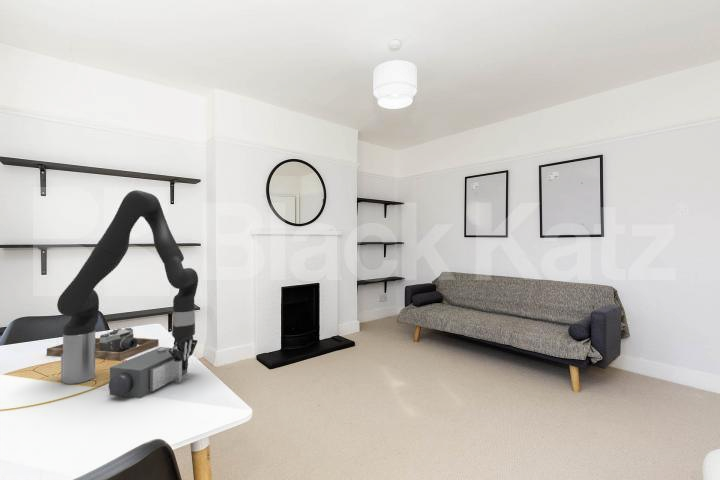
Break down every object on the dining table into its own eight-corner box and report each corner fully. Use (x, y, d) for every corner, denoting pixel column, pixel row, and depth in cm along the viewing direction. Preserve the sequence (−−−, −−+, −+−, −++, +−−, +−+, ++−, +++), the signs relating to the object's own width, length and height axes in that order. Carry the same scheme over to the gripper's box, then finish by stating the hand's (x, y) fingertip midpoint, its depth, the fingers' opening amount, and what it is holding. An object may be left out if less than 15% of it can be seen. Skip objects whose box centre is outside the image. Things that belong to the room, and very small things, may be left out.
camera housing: (101, 398, 112) (101, 368, 112) (160, 369, 137) (160, 345, 137) (133, 402, 110) (133, 371, 110) (187, 372, 134) (187, 347, 134)
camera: (116, 358, 150) (116, 335, 150) (96, 356, 152) (96, 333, 152) (145, 347, 165) (145, 326, 165) (127, 345, 167) (127, 325, 167)
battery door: (149, 390, 116) (149, 369, 116) (171, 378, 126) (171, 359, 126) (160, 391, 115) (160, 370, 115) (181, 379, 125) (181, 360, 125)
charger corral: (46, 355, 153) (46, 348, 153) (86, 343, 170) (86, 337, 170) (74, 357, 150) (74, 350, 150) (111, 345, 167) (111, 339, 167)
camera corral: (91, 357, 150) (91, 350, 150) (132, 343, 170) (132, 337, 170) (120, 360, 147) (120, 353, 147) (158, 345, 167) (158, 339, 167)
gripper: (187, 318, 135) (186, 362, 135) (161, 326, 122) (161, 375, 122) (204, 319, 134) (204, 364, 134) (180, 327, 121) (180, 377, 121)
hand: (183, 369), depth 128 cm, fingers closed
